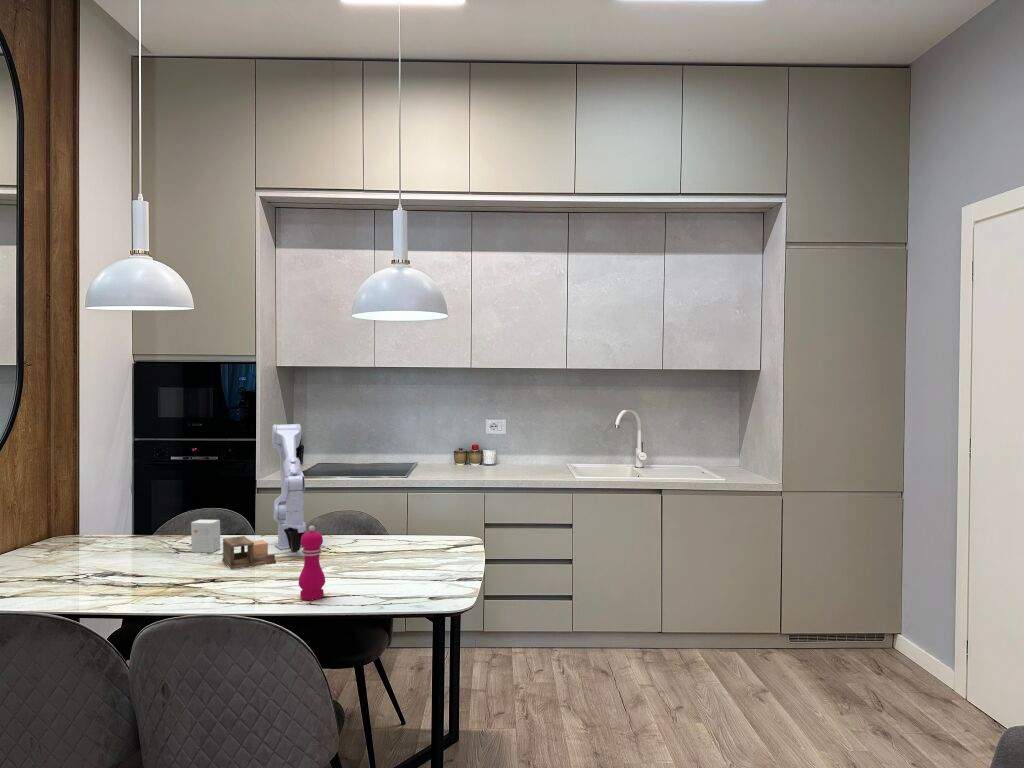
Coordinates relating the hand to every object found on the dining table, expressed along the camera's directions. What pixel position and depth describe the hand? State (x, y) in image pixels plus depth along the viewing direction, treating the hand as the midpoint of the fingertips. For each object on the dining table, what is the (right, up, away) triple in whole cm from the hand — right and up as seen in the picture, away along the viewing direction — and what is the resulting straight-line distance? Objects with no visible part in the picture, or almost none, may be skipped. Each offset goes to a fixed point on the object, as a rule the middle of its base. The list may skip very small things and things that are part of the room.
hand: (294, 550), depth 256 cm
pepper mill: (+18, -3, -47) cm, 50 cm away
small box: (-33, -2, +7) cm, 34 cm away
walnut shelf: (-13, -2, -9) cm, 15 cm away
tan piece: (-6, -1, -4) cm, 7 cm away
